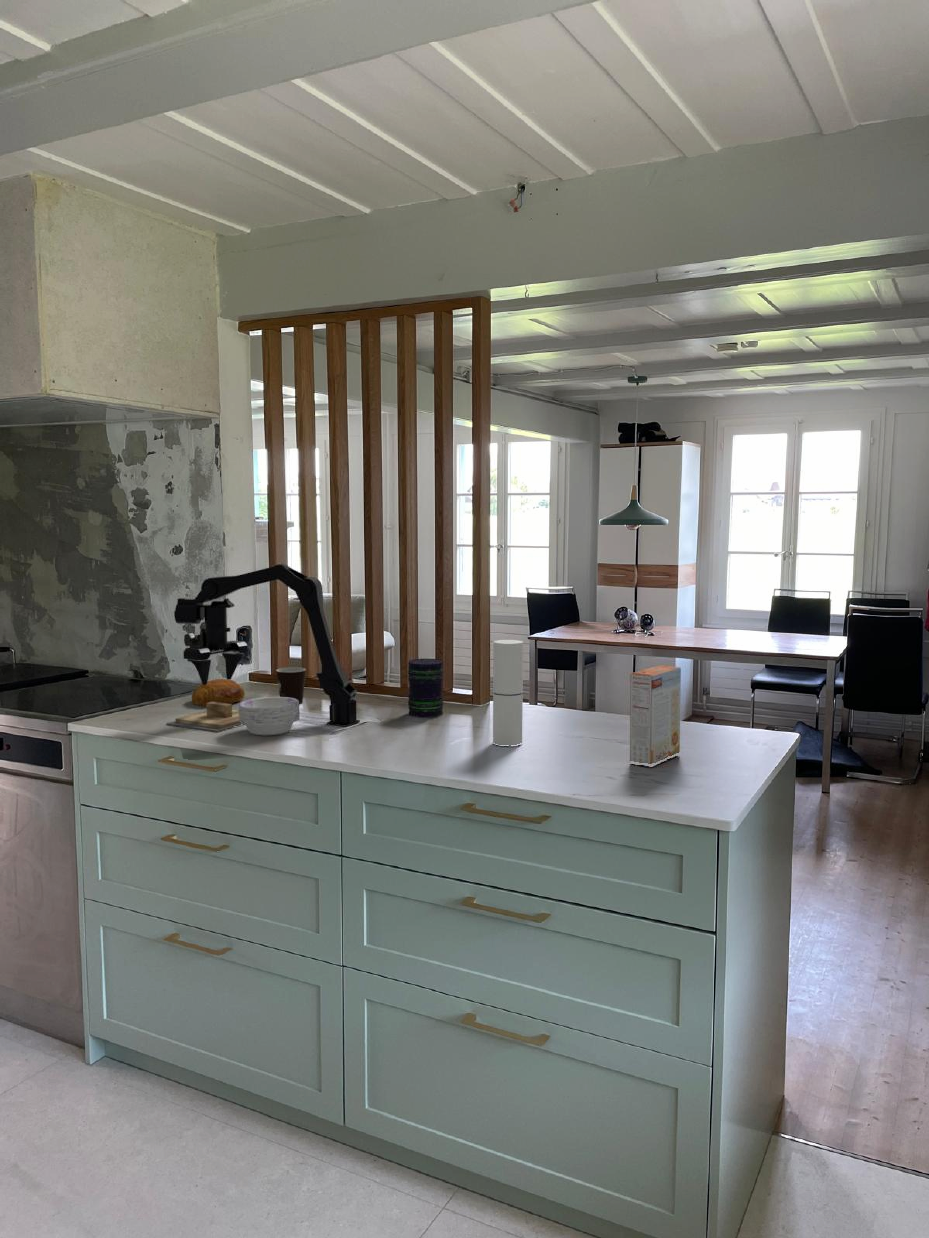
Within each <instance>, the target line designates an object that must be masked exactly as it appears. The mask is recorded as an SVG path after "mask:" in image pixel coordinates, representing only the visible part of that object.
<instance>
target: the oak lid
mask: <svg viewBox="0 0 929 1238" xmlns="http://www.w3.org/2000/svg"><path fill="white" fill-rule="evenodd" d="M206 705H207V707H206V710H204V711H200V712H196V713H193V714H189V715H184V716H180V717H177V718H175V721H176V722H177V723H184V724H191V725H198V726H205V727H212V728H219V729H222V728H226V727H230V726H233V725H237V724H240V720H239V709H233V703H231V704H226V703H218V702H209V703H206Z"/></svg>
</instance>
